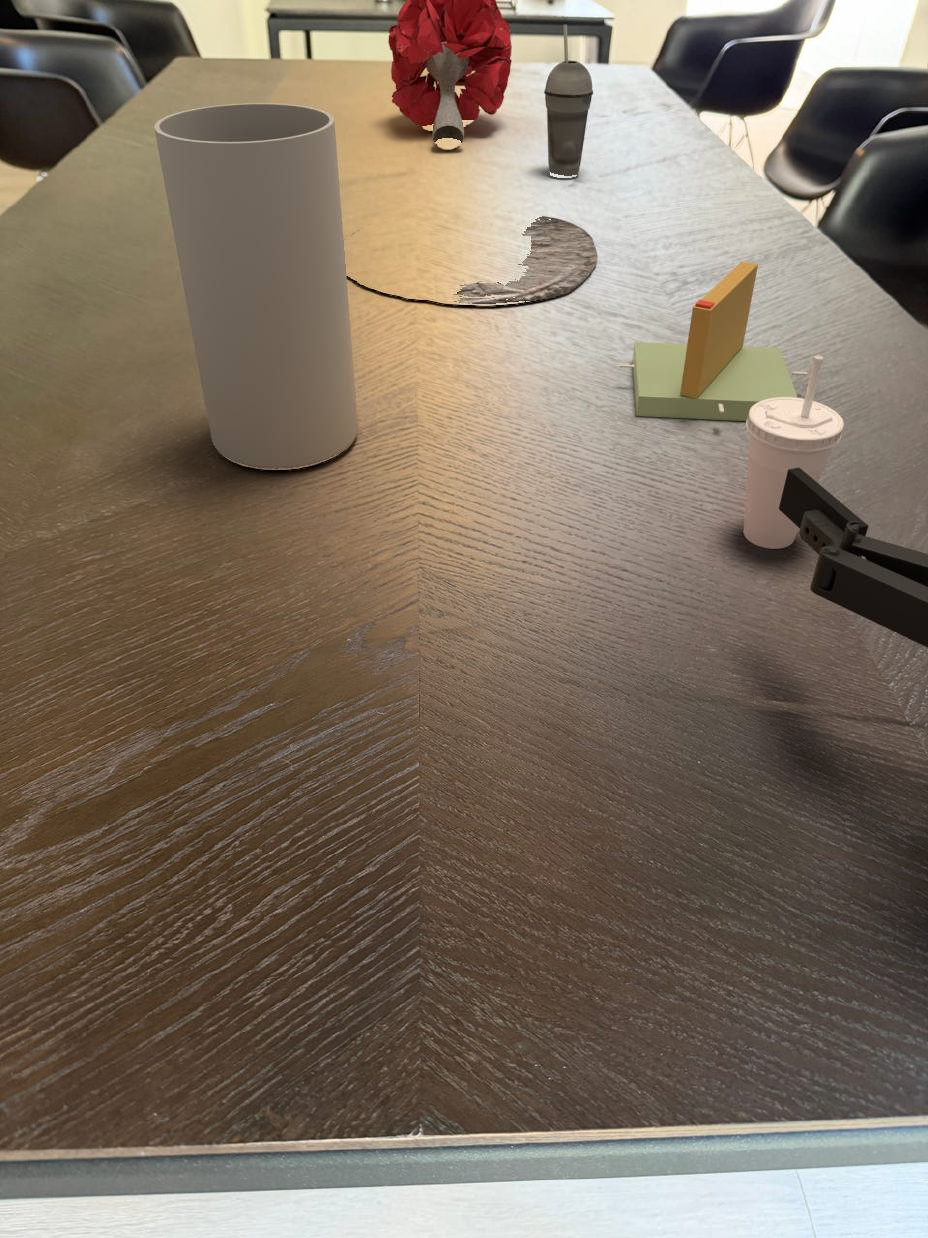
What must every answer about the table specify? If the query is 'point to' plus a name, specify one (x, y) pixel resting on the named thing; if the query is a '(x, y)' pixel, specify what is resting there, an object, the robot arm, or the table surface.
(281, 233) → the cylinder vase
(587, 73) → the beverage cup
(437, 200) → the table surface
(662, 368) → the flat green base panel
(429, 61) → the bouquet
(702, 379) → the red-tabbed upright panel
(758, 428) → the smoothie
